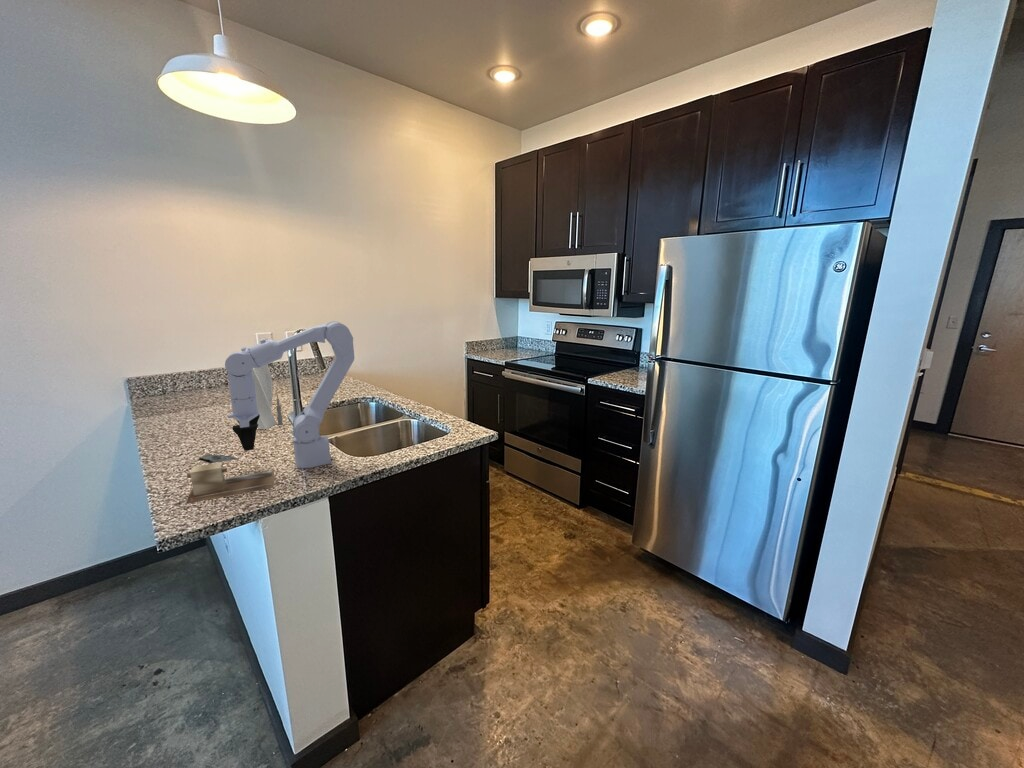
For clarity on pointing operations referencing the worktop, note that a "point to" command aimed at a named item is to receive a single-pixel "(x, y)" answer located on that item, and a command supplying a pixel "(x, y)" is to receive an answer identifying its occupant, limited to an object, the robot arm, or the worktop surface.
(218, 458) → the driftwood
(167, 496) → the worktop surface
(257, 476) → the board
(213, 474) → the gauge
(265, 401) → the skyscraper
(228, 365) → the robot arm
